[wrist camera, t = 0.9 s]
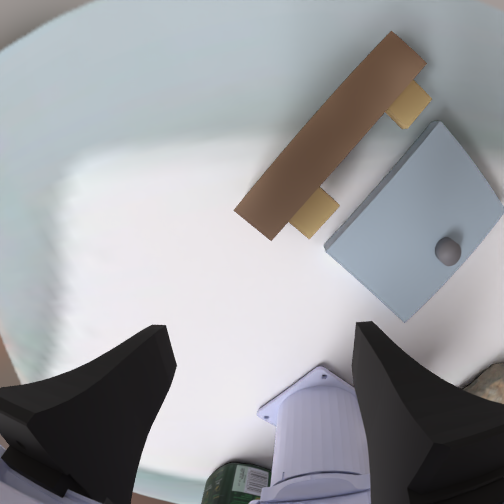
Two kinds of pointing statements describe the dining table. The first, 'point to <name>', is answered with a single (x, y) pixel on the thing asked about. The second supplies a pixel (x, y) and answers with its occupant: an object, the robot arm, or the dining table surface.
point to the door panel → (418, 223)
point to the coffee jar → (236, 484)
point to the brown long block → (335, 140)
